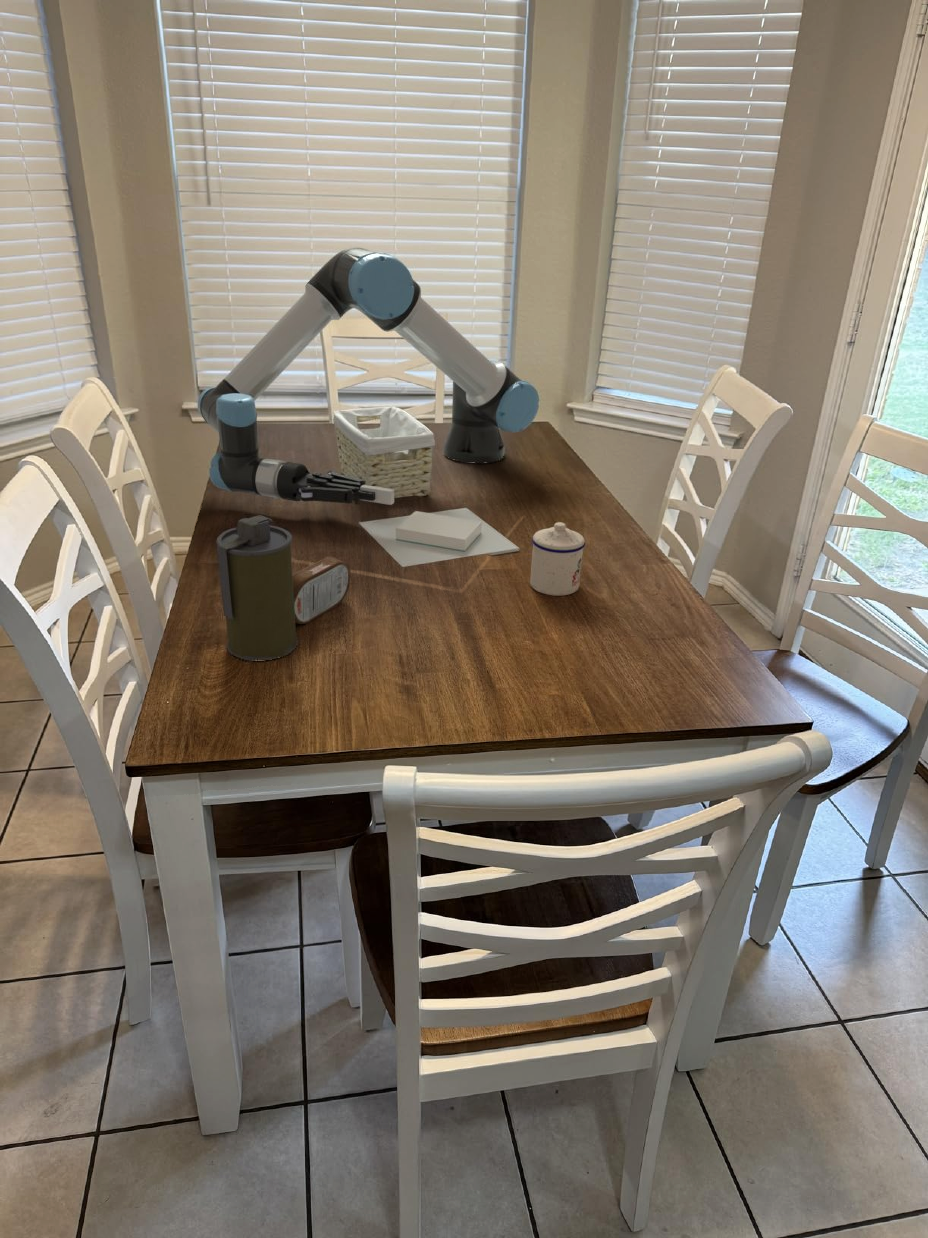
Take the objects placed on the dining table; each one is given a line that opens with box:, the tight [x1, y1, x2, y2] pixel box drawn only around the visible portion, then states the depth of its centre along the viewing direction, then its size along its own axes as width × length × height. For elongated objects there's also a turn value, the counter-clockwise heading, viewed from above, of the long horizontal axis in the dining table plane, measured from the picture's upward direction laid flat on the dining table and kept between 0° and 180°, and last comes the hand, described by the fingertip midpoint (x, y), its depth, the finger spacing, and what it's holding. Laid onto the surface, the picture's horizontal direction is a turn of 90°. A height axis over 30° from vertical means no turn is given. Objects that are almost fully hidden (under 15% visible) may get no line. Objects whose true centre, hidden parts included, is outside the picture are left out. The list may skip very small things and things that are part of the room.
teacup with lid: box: [529, 521, 586, 597], centre depth 153 cm, size 12×9×12 cm
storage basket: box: [332, 405, 436, 499], centre depth 195 cm, size 24×16×15 cm
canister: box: [216, 514, 299, 661], centre depth 128 cm, size 11×10×20 cm
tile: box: [396, 510, 482, 552], centre depth 170 cm, size 2×10×14 cm
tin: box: [292, 556, 351, 625], centre depth 140 cm, size 15×3×8 cm, turn 149°
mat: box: [358, 507, 520, 568], centre depth 172 cm, size 24×23×1 cm
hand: (392, 497), depth 171 cm, fingers closed
